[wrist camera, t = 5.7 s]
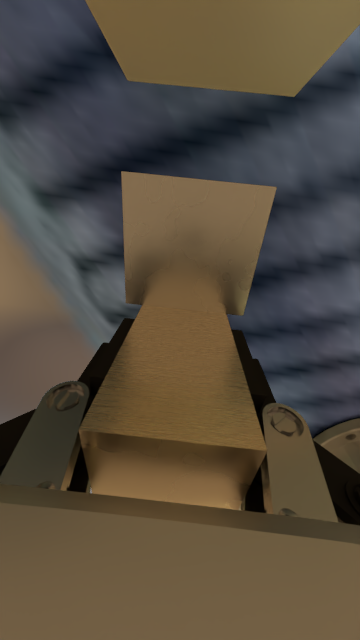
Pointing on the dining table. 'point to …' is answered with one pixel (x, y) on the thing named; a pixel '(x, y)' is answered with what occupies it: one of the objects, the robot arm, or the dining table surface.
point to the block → (225, 40)
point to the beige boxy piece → (181, 347)
